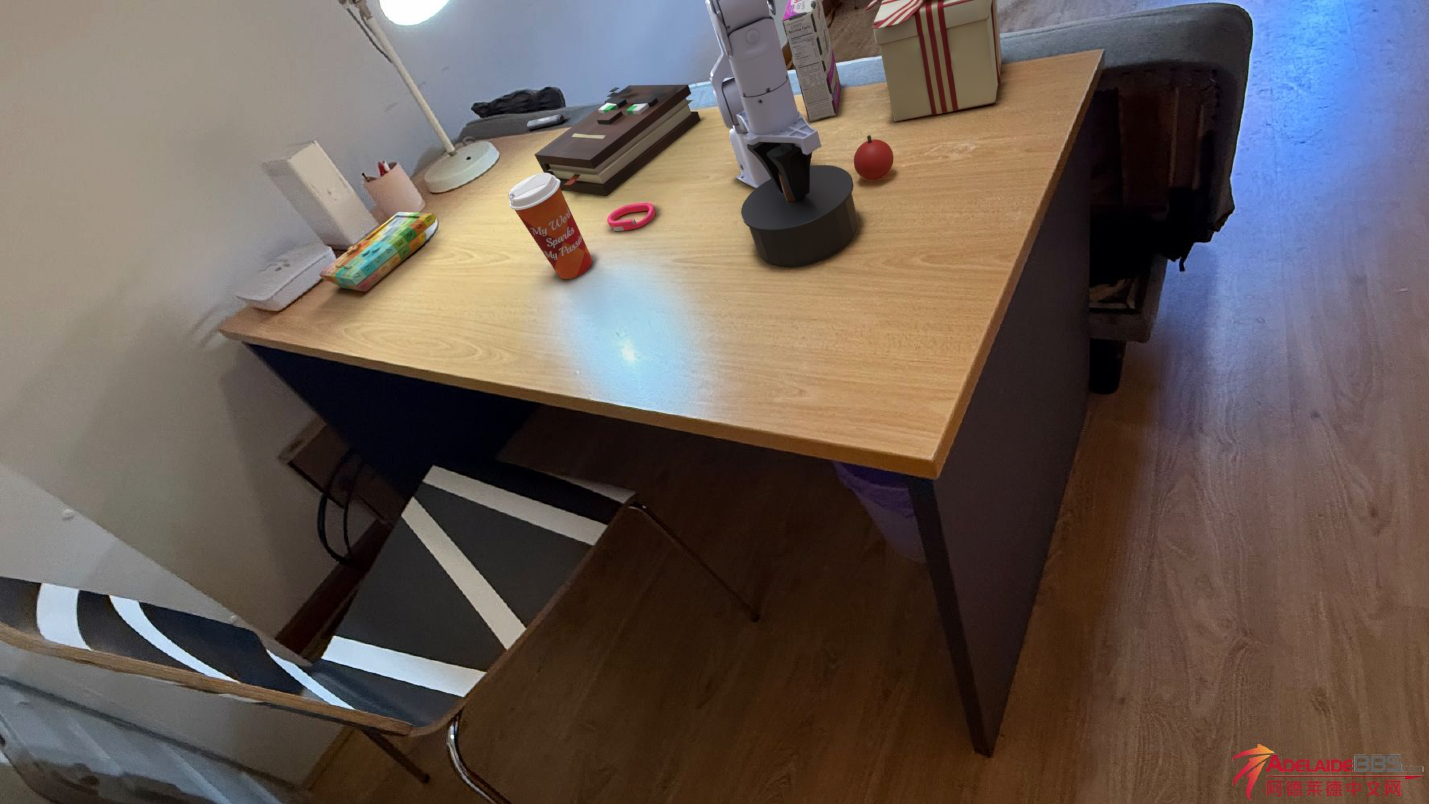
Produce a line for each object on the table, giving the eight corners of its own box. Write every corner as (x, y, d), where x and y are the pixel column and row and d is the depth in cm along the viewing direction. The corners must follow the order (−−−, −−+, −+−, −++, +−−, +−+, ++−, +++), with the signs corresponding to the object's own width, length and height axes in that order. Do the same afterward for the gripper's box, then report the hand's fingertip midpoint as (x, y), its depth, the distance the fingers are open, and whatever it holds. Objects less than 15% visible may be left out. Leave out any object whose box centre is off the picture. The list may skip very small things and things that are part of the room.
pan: (740, 246, 96) (727, 211, 93) (818, 197, 99) (808, 161, 95) (794, 280, 87) (782, 242, 83) (879, 225, 89) (871, 186, 85)
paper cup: (561, 290, 104) (512, 207, 95) (546, 271, 110) (499, 191, 101) (607, 263, 105) (562, 178, 96) (590, 246, 111) (547, 164, 102)
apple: (850, 182, 99) (840, 140, 95) (879, 163, 100) (871, 121, 96) (874, 191, 95) (865, 149, 91) (904, 172, 96) (897, 129, 92)
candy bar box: (812, 94, 124) (788, -7, 113) (841, 86, 122) (819, -16, 111) (807, 123, 116) (780, 19, 106) (837, 116, 114) (813, 9, 104)
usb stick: (527, 131, 162) (524, 125, 161) (532, 125, 163) (529, 119, 162) (560, 124, 157) (557, 117, 156) (566, 118, 159) (562, 112, 158)
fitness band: (603, 232, 113) (599, 224, 112) (619, 211, 116) (616, 203, 115) (646, 228, 109) (642, 220, 108) (662, 207, 112) (658, 198, 111)
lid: (723, 215, 93) (712, 183, 90) (810, 162, 96) (802, 129, 93) (782, 250, 83) (771, 216, 80) (878, 189, 85) (871, 153, 82)
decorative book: (518, 156, 128) (631, 75, 140) (538, 193, 133) (646, 111, 145) (581, 163, 116) (699, 73, 128) (601, 204, 121) (713, 113, 133)
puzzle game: (315, 270, 130) (396, 207, 140) (332, 290, 133) (411, 228, 143) (347, 275, 123) (430, 209, 133) (364, 296, 126) (444, 230, 136)
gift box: (881, 85, 117) (861, -29, 106) (1002, 57, 110) (994, -68, 99) (871, 135, 106) (847, 14, 95) (1005, 108, 99) (997, -27, 88)
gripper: (703, 91, 84) (738, 192, 93) (769, 113, 73) (801, 225, 82) (752, 63, 85) (782, 166, 94) (823, 81, 75) (849, 195, 83)
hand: (794, 192), depth 88 cm, fingers closed on lid, 2 cm apart
